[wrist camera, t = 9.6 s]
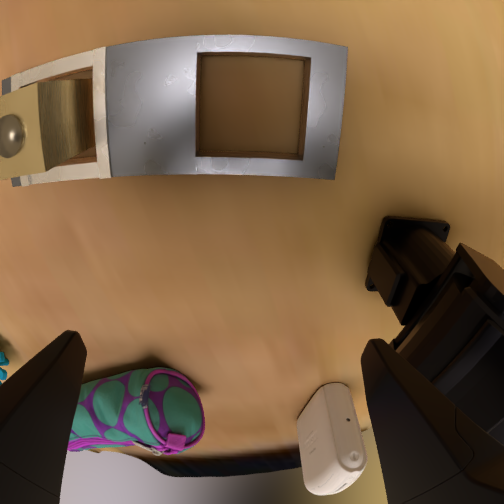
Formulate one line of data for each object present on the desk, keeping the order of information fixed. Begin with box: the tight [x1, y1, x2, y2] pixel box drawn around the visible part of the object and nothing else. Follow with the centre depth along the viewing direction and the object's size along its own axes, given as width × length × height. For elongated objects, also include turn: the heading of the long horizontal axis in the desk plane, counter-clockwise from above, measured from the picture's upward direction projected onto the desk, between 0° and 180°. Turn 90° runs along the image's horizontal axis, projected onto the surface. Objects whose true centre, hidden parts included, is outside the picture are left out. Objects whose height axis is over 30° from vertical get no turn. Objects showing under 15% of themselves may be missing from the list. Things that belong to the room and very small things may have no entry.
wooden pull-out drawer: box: [0, 79, 96, 180], centre depth 12 cm, size 4×4×7 cm
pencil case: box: [67, 367, 205, 456], centre depth 26 cm, size 21×9×10 cm, turn 118°
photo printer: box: [297, 383, 367, 495], centre depth 28 cm, size 10×4×12 cm, turn 168°
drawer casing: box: [2, 35, 348, 187], centre depth 15 cm, size 22×8×2 cm, turn 87°
